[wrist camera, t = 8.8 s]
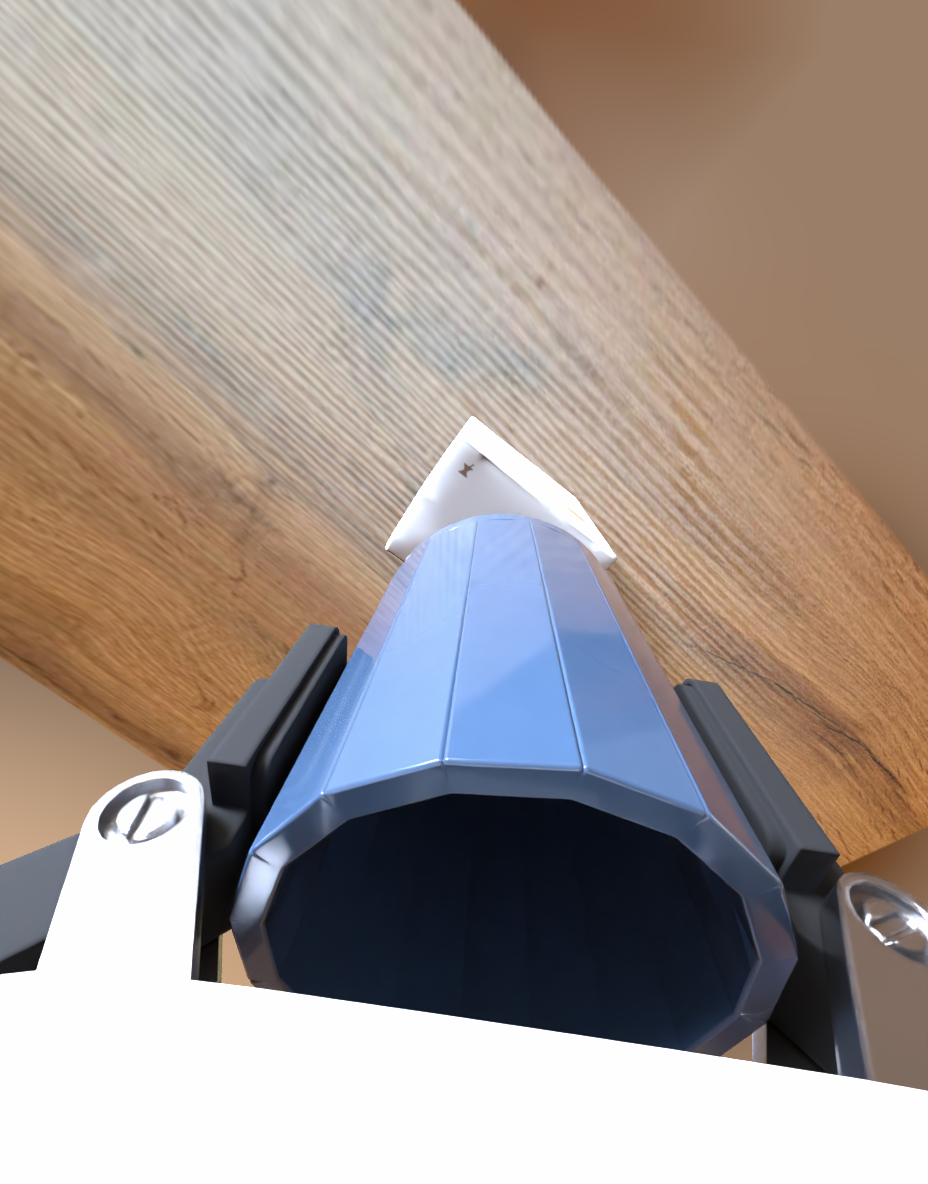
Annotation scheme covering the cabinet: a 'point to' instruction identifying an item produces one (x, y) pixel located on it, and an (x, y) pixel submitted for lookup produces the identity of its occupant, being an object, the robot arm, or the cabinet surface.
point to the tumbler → (515, 818)
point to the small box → (491, 494)
